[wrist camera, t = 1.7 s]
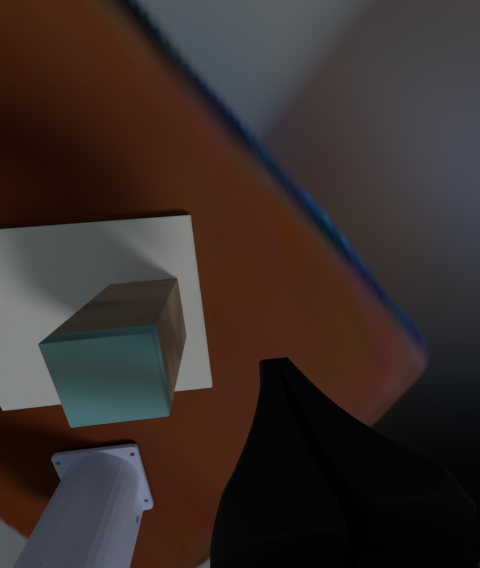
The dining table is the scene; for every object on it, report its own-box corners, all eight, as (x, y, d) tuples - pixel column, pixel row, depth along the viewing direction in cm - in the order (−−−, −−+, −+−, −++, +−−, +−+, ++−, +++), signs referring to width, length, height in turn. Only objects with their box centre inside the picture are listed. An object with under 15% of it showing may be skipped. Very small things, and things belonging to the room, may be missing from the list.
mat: (212, 382, 23) (211, 387, 23) (8, 405, 22) (2, 410, 22) (190, 214, 18) (189, 215, 18) (-76, 234, 17) (-85, 235, 17)
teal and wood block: (186, 335, 21) (168, 416, 13) (124, 341, 20) (70, 427, 13) (177, 278, 19) (151, 332, 12) (110, 284, 19) (37, 344, 11)
